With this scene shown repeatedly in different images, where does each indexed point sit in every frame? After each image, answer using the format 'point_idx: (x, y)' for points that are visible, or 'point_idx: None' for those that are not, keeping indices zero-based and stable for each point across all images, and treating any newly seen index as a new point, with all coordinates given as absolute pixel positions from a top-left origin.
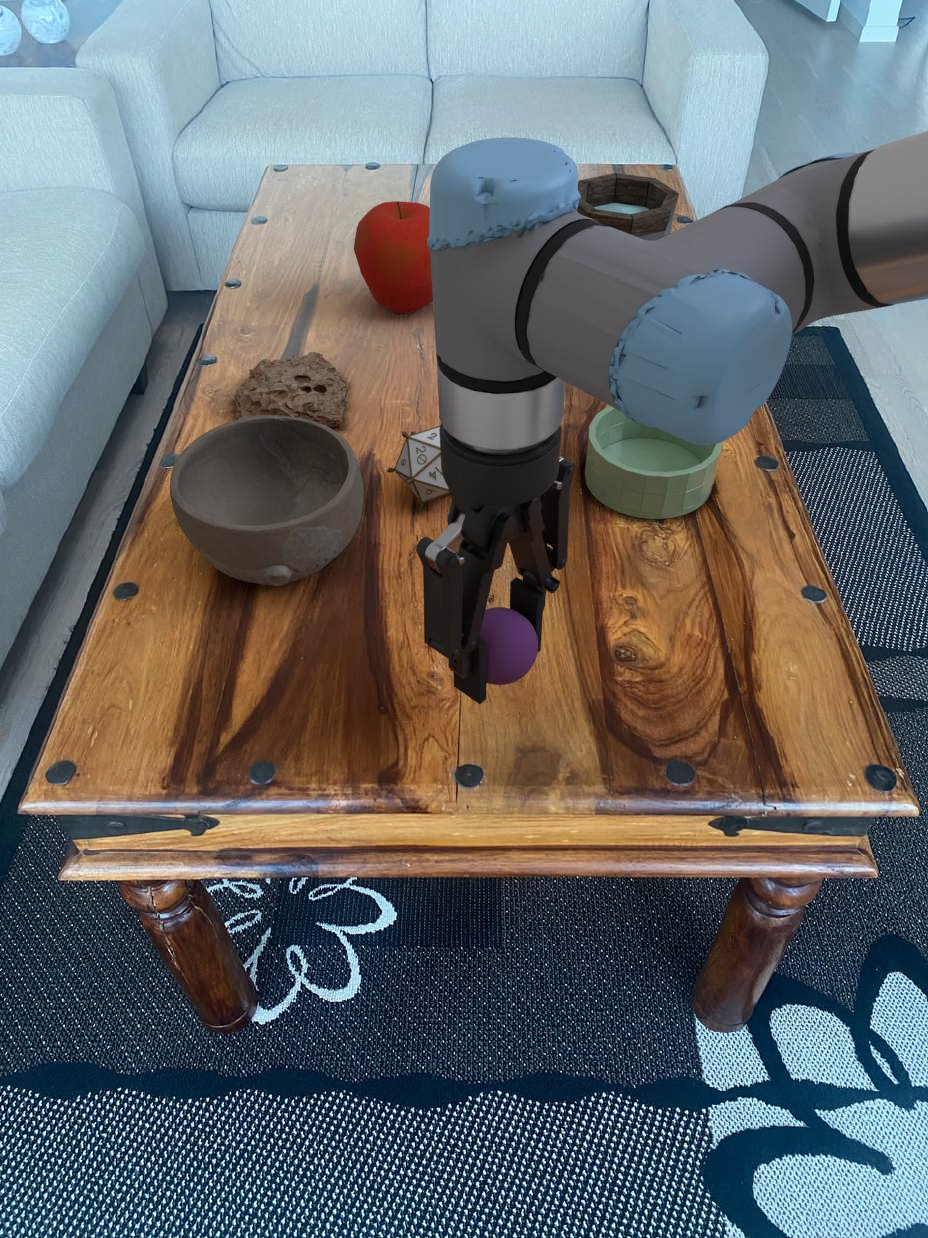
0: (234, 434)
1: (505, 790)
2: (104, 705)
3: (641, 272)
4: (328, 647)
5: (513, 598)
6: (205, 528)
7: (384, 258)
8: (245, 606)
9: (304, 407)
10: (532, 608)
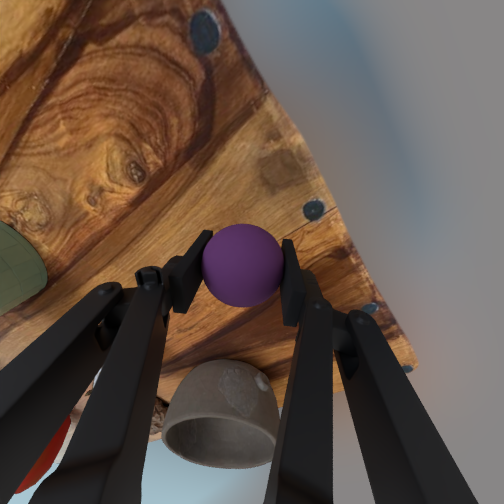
0: (207, 453)
1: (312, 178)
2: None
3: None
4: (272, 328)
5: (194, 291)
6: None
7: (36, 462)
8: (274, 366)
9: (154, 414)
10: (191, 269)
